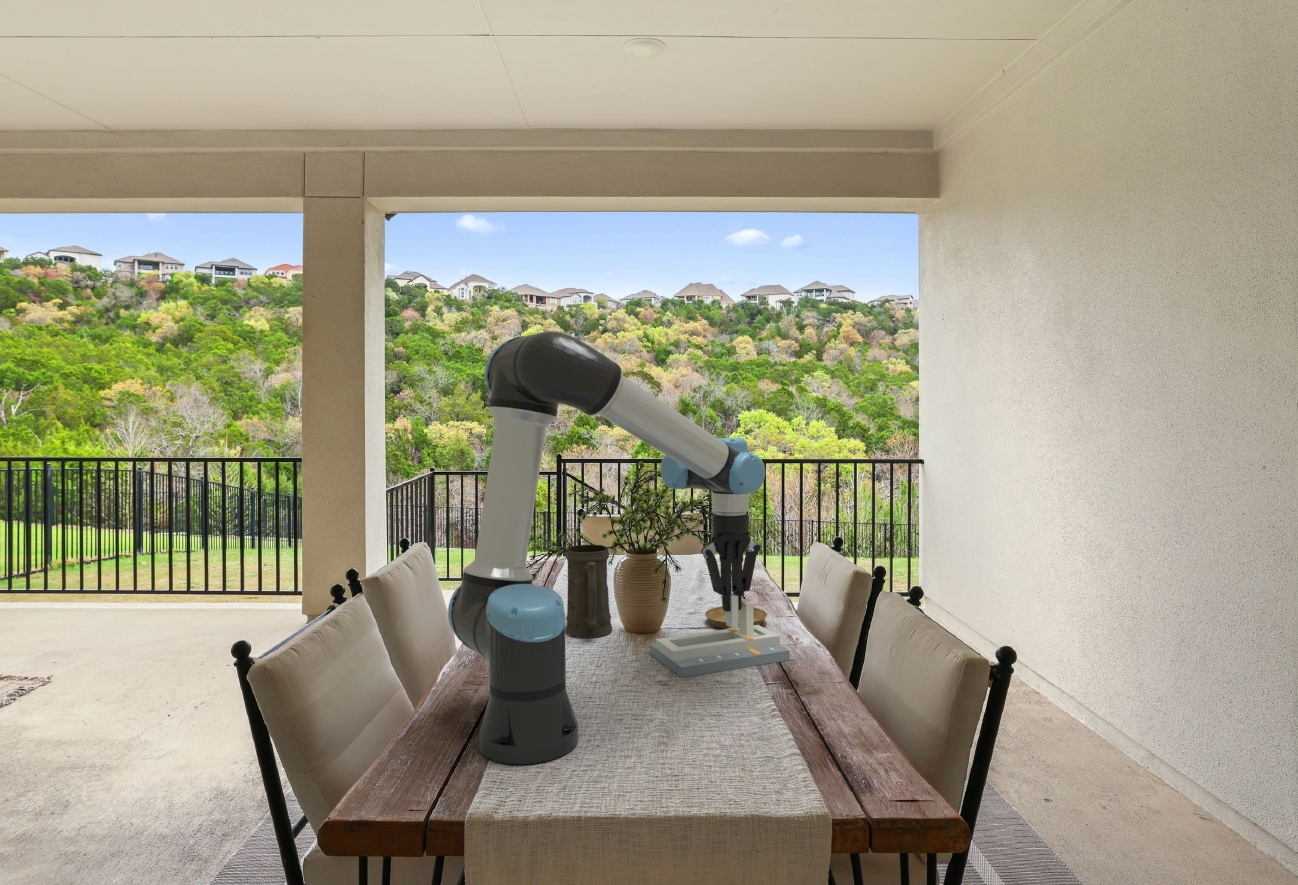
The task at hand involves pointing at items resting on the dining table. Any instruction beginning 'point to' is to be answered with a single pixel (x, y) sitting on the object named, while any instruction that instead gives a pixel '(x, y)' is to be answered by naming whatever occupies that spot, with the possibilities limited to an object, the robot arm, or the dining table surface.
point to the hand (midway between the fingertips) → (732, 625)
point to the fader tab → (745, 620)
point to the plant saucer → (719, 617)
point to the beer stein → (588, 592)
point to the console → (718, 651)
